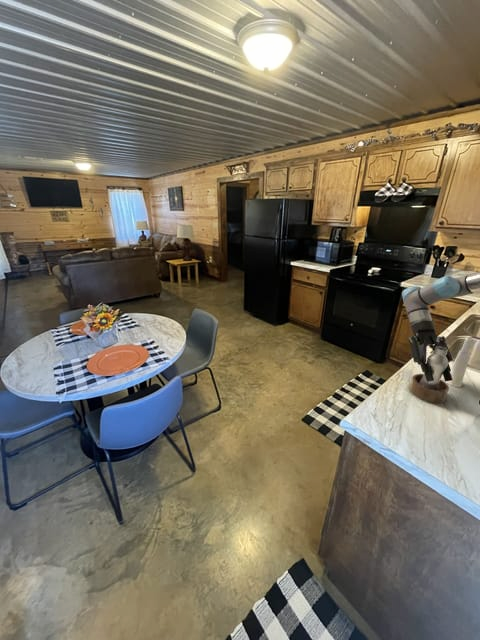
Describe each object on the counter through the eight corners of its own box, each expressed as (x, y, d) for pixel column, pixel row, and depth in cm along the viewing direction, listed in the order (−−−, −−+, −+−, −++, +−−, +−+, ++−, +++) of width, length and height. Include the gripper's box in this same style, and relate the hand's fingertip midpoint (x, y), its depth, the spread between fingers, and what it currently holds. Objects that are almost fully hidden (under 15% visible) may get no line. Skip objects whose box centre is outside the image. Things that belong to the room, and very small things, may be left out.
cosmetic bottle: (442, 379, 114) (459, 334, 106) (460, 384, 112) (478, 337, 103) (444, 386, 110) (461, 339, 101) (462, 391, 107) (482, 343, 98)
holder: (444, 394, 104) (449, 381, 102) (442, 410, 96) (448, 395, 94) (410, 383, 111) (415, 370, 109) (406, 397, 103) (410, 383, 100)
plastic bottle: (412, 388, 106) (426, 344, 98) (428, 387, 106) (443, 344, 99) (424, 398, 100) (439, 353, 92) (440, 398, 100) (457, 352, 93)
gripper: (437, 326, 110) (456, 382, 101) (392, 326, 109) (408, 383, 100) (451, 319, 103) (473, 378, 94) (404, 319, 102) (421, 379, 93)
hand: (439, 380), depth 97 cm, fingers closed on plastic bottle, 6 cm apart
